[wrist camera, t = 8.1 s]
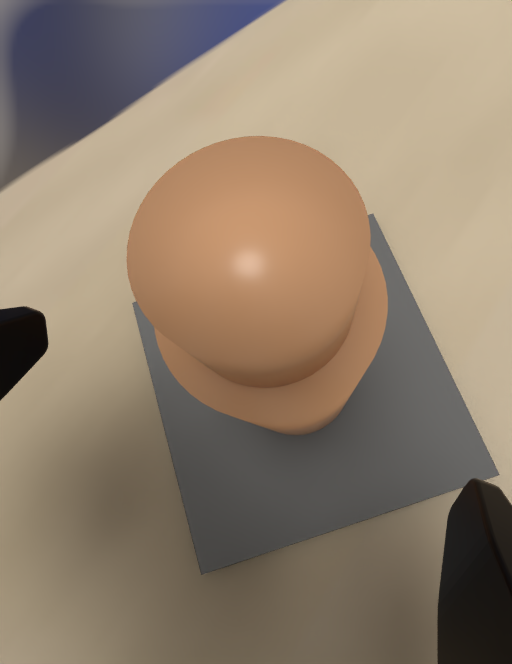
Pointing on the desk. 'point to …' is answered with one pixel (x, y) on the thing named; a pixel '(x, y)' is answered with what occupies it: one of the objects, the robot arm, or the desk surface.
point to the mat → (323, 445)
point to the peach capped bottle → (260, 281)
